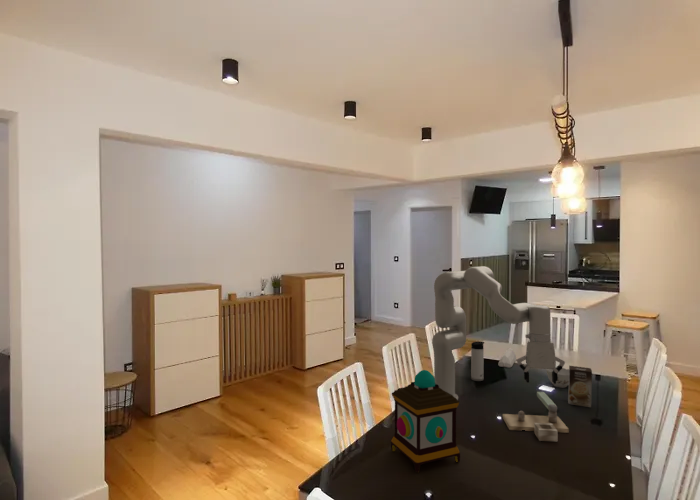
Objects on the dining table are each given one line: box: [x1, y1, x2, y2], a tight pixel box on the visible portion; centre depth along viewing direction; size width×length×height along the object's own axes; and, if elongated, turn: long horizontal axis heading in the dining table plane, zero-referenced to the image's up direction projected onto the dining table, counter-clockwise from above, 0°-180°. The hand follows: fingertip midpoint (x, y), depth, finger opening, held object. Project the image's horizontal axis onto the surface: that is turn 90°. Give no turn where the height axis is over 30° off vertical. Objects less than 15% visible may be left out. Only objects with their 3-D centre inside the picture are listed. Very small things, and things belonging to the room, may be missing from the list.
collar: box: [533, 423, 559, 442], centre depth 167 cm, size 6×6×4 cm
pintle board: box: [502, 410, 570, 434], centre depth 178 cm, size 22×12×6 cm, turn 83°
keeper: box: [536, 391, 558, 413], centre depth 184 cm, size 3×18×2 cm, turn 173°
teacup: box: [546, 366, 569, 389], centre depth 225 cm, size 15×12×8 cm
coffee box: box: [567, 365, 593, 408], centre depth 200 cm, size 9×6×16 cm
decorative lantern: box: [390, 369, 461, 473], centre depth 152 cm, size 20×20×30 cm
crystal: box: [497, 347, 517, 369], centre depth 266 cm, size 7×7×24 cm
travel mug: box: [470, 341, 485, 382], centre depth 235 cm, size 6×7×20 cm
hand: (540, 382), depth 170 cm, fingers open, 9 cm apart
